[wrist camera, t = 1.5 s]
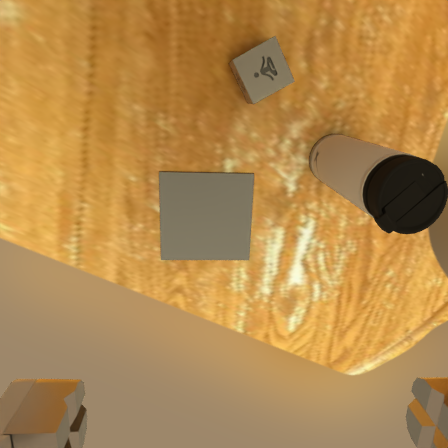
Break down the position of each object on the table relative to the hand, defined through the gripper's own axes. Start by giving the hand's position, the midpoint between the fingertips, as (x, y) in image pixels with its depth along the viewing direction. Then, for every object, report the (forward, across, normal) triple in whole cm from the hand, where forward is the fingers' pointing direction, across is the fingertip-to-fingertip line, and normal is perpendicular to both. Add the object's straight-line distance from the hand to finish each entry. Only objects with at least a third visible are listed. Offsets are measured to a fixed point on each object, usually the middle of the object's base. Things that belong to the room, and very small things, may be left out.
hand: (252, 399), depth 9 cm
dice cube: (+41, -5, -11) cm, 42 cm away
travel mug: (+41, -16, -1) cm, 44 cm away
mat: (+41, 0, +7) cm, 41 cm away
